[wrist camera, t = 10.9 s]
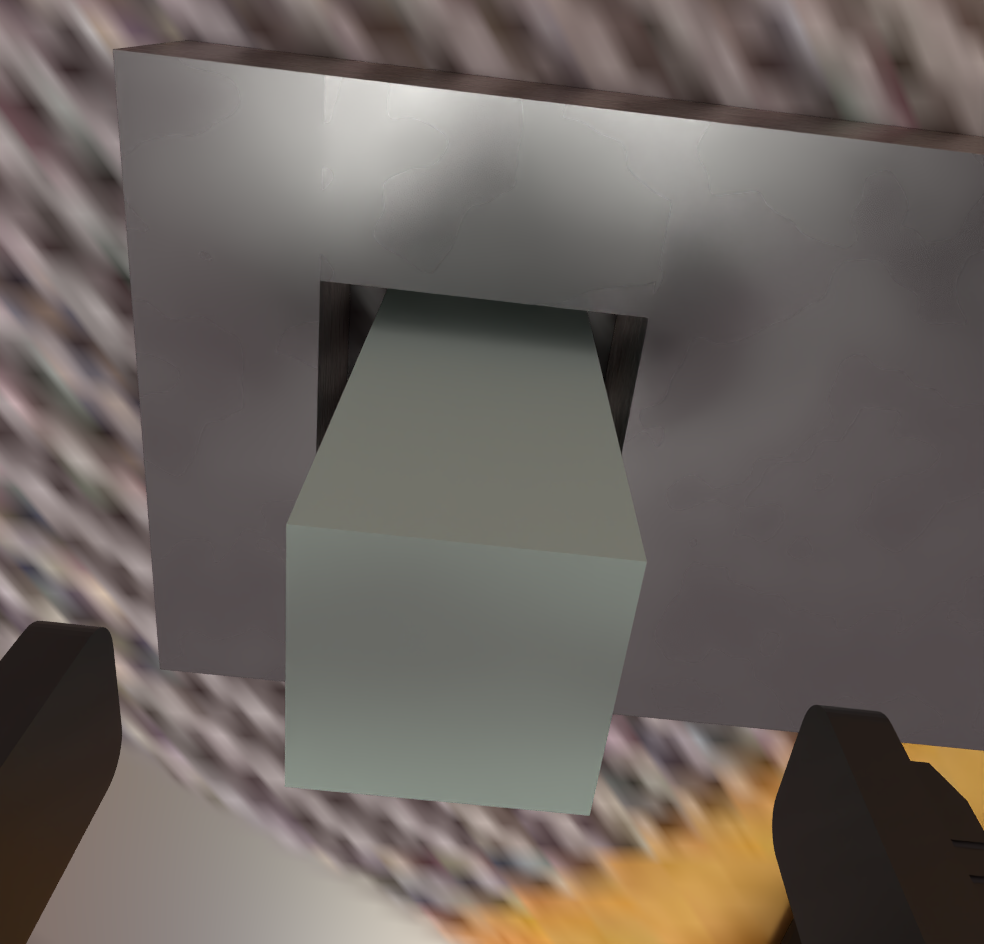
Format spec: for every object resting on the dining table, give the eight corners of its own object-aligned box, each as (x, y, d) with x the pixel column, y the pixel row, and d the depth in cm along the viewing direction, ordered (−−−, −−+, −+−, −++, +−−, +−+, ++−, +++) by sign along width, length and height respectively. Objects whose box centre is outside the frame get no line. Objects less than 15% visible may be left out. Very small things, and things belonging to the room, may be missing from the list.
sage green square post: (583, 298, 19) (646, 562, 10) (556, 467, 21) (590, 815, 12) (392, 276, 19) (286, 523, 10) (382, 448, 21) (285, 786, 12)
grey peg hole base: (1330, 179, 18) (1507, 217, 14) (1077, 664, 23) (1166, 768, 20) (187, 40, 17) (112, 49, 14) (208, 575, 22) (160, 669, 19)
